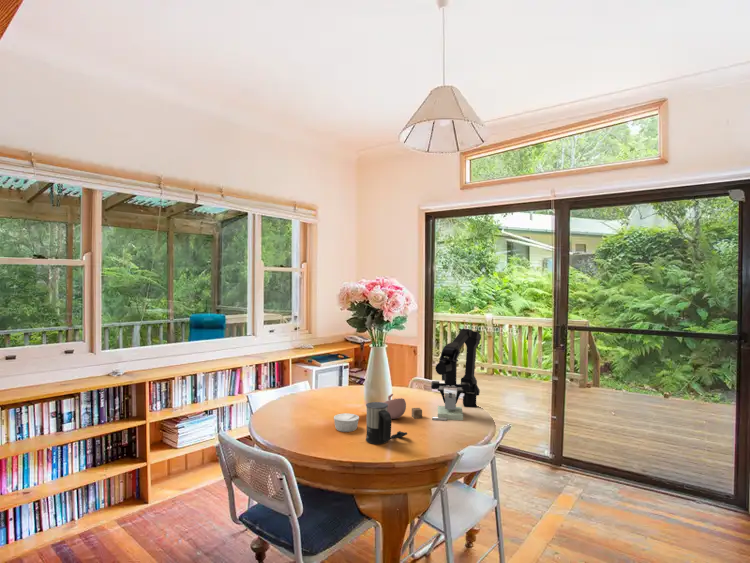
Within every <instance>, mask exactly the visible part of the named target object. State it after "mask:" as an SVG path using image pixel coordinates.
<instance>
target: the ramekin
mask: <svg viewBox="0 0 750 563" xmlns="http://www.w3.org/2000/svg"><path fill="white" fill-rule="evenodd" d="M333 420H334V427H335V429H336V430H337V431H338V432H342V433H349V432H353V431H356V430H357V429H358V424H359V420H360V416H359V415H357V414H354V413H346V412H344V413H339V414H335V415H334V416H333Z"/></svg>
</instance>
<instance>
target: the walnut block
mask: <svg viewBox="0 0 750 563" xmlns="http://www.w3.org/2000/svg"><path fill="white" fill-rule="evenodd" d="M411 418H413V420H414V419H416V418H417V419H423V409H422V408H420V407H412V408H411Z"/></svg>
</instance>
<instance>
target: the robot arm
mask: <svg viewBox="0 0 750 563" xmlns="http://www.w3.org/2000/svg"><path fill="white" fill-rule="evenodd" d="M481 339H482V334H481V333H480V332H479V331H475V330H472V329H470V328H461V329H460V331H459V333H458V334H457V335H456V337H455V338H454V339H453V340H452V342H449V343H447V344H446V345H444V346H443V348H442V350H441V353H440V357H439V359H438V360H439V363H437V364H436V366H435V367H434V368H435V372H436V373H437V374H438V375H441V381H444V383H442V382H440V381H437V380H433V381H431V384H430V385H431V390H437V391H438V392H439V393H440V394H441V398H442V400H443V403H444V404H445V388H447V389H449V388H453V389H456V393H455V394H456V405H457V403H458V400H459V398H460V396H461V394H463V396H462V406H464V407H466V408H468V407H469V408H477V397H478V396H480V391H481V390H480V389H479V386H478V381H477V378H476V376H475V371H476V370H475V368H476V356H477V355H476V353H477V348H478V346H480V343H481ZM464 344H465V347H466V356H465V370H464V375H463V377H461V378H460V383H457V364H458V363H457V362H459V360H458V358H459V356H460V354H461V348H462V347H463V345H464Z"/></svg>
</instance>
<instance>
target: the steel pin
mask: <svg viewBox="0 0 750 563" xmlns="http://www.w3.org/2000/svg"><path fill="white" fill-rule="evenodd" d="M431 418H432V419H431V420H432V421H442V422H444V421H445V422H447V421H448V420H447V418H446V417H438V416H432V417H431Z"/></svg>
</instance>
